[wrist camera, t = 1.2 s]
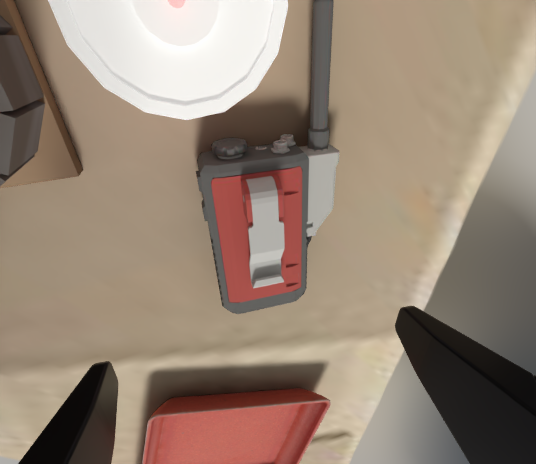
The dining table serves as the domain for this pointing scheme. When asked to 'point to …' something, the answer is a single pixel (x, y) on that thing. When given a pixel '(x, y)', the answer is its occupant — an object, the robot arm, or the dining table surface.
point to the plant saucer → (235, 428)
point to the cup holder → (28, 112)
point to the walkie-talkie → (271, 197)
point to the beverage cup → (175, 49)
